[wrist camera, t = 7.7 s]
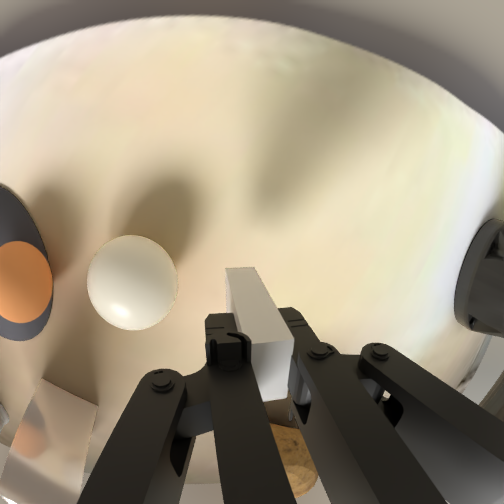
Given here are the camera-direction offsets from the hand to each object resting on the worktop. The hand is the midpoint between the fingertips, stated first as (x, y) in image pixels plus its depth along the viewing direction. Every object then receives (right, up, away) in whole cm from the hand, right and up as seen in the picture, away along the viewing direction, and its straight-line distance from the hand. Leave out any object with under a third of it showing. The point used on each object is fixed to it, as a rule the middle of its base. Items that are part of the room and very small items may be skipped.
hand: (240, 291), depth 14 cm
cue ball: (-6, 0, 0) cm, 6 cm away
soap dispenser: (-19, -15, +6) cm, 25 cm away
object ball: (-15, 0, -1) cm, 15 cm away
